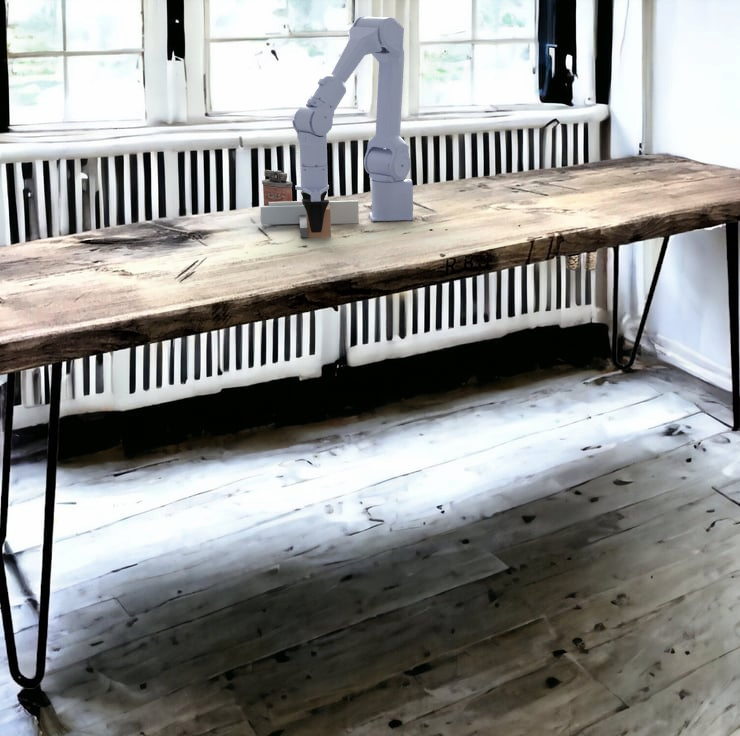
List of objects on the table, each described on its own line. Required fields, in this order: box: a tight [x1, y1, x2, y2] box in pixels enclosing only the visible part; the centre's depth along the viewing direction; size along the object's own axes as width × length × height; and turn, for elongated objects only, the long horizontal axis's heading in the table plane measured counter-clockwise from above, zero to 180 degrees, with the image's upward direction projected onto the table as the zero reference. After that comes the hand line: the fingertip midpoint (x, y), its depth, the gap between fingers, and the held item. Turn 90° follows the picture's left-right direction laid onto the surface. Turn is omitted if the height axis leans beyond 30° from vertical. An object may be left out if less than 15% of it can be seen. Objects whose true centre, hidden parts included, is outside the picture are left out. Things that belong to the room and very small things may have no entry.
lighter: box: [261, 169, 293, 206], centre depth 241 cm, size 8×3×10 cm, turn 58°
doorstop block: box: [306, 205, 332, 238], centre depth 222 cm, size 5×4×6 cm
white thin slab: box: [269, 199, 360, 225], centre depth 232 cm, size 20×2×5 cm, turn 95°
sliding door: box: [259, 205, 308, 238], centre depth 225 cm, size 10×14×4 cm
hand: (315, 227), depth 223 cm, fingers open, 7 cm apart
